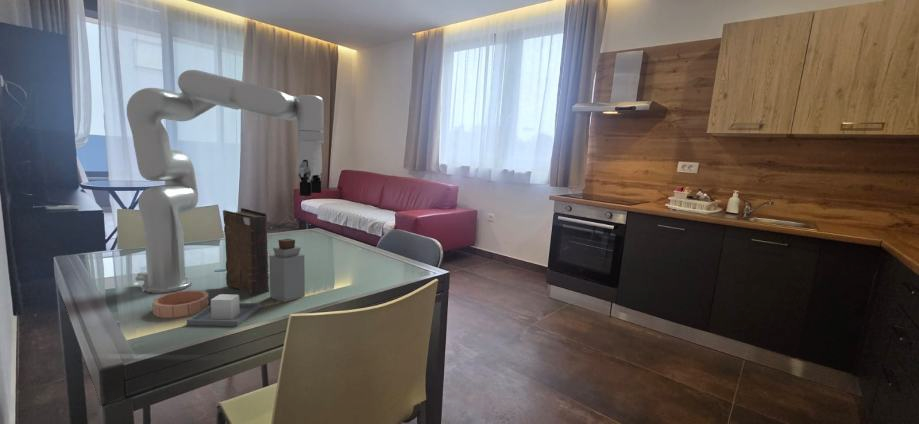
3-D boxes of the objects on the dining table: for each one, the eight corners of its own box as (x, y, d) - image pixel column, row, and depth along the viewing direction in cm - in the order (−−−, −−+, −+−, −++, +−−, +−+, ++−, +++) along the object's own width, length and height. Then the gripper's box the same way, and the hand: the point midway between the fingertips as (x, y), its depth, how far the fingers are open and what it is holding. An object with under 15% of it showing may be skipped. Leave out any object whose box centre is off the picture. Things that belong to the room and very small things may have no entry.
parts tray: (187, 328, 96) (186, 320, 96) (215, 309, 108) (215, 302, 108) (237, 329, 97) (237, 321, 96) (260, 310, 108) (260, 303, 108)
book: (271, 294, 121) (269, 213, 118) (247, 299, 116) (244, 215, 112) (248, 281, 132) (245, 207, 128) (224, 286, 126) (221, 209, 123)
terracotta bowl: (142, 320, 99) (141, 305, 99) (174, 302, 111) (173, 289, 111) (191, 321, 100) (190, 306, 99) (218, 303, 112) (217, 290, 111)
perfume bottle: (284, 305, 113) (283, 243, 111) (270, 299, 117) (269, 240, 114) (304, 298, 119) (304, 240, 116) (290, 293, 122) (289, 236, 120)
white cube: (211, 318, 100) (210, 299, 99) (220, 312, 104) (219, 294, 103) (231, 319, 100) (231, 300, 100) (239, 312, 104) (239, 294, 104)
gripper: (307, 138, 127) (307, 191, 129) (286, 135, 110) (287, 196, 112) (331, 139, 128) (331, 192, 130) (314, 136, 110) (314, 197, 113)
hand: (311, 194), depth 121 cm, fingers open, 9 cm apart
